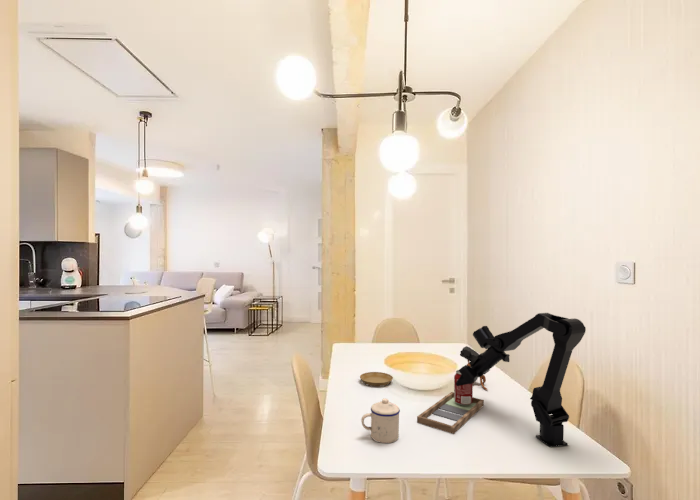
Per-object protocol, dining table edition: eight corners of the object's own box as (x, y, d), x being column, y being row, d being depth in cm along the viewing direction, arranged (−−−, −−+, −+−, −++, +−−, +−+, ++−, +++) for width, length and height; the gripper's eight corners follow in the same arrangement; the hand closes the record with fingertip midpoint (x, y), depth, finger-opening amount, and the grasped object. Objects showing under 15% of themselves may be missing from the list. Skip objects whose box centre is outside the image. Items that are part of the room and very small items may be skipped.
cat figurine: (494, 392, 159) (495, 360, 159) (480, 393, 158) (481, 361, 158) (472, 377, 177) (473, 348, 177) (459, 377, 176) (460, 348, 175)
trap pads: (461, 422, 128) (461, 421, 128) (432, 413, 134) (432, 413, 134) (472, 412, 136) (472, 411, 136) (444, 404, 143) (444, 404, 143)
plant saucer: (370, 390, 157) (370, 384, 157) (354, 379, 170) (354, 374, 170) (399, 385, 164) (399, 379, 164) (381, 375, 177) (381, 370, 177)
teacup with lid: (395, 429, 122) (396, 393, 122) (402, 443, 113) (403, 404, 113) (359, 430, 120) (359, 394, 121) (363, 445, 111) (364, 405, 112)
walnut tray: (453, 434, 119) (453, 427, 119) (417, 422, 127) (417, 416, 127) (483, 405, 143) (483, 400, 143) (451, 396, 151) (451, 391, 151)
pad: (472, 412, 137) (472, 411, 137) (445, 404, 143) (445, 403, 143) (480, 405, 143) (480, 404, 143) (453, 398, 150) (453, 397, 150)
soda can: (473, 407, 139) (473, 375, 139) (454, 406, 141) (454, 374, 141) (471, 400, 146) (471, 369, 146) (453, 399, 147) (453, 368, 147)
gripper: (481, 337, 149) (454, 360, 155) (464, 345, 134) (435, 370, 140) (502, 360, 144) (473, 383, 150) (487, 371, 129) (455, 396, 135)
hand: (459, 382), depth 144 cm, fingers closed on soda can, 6 cm apart
